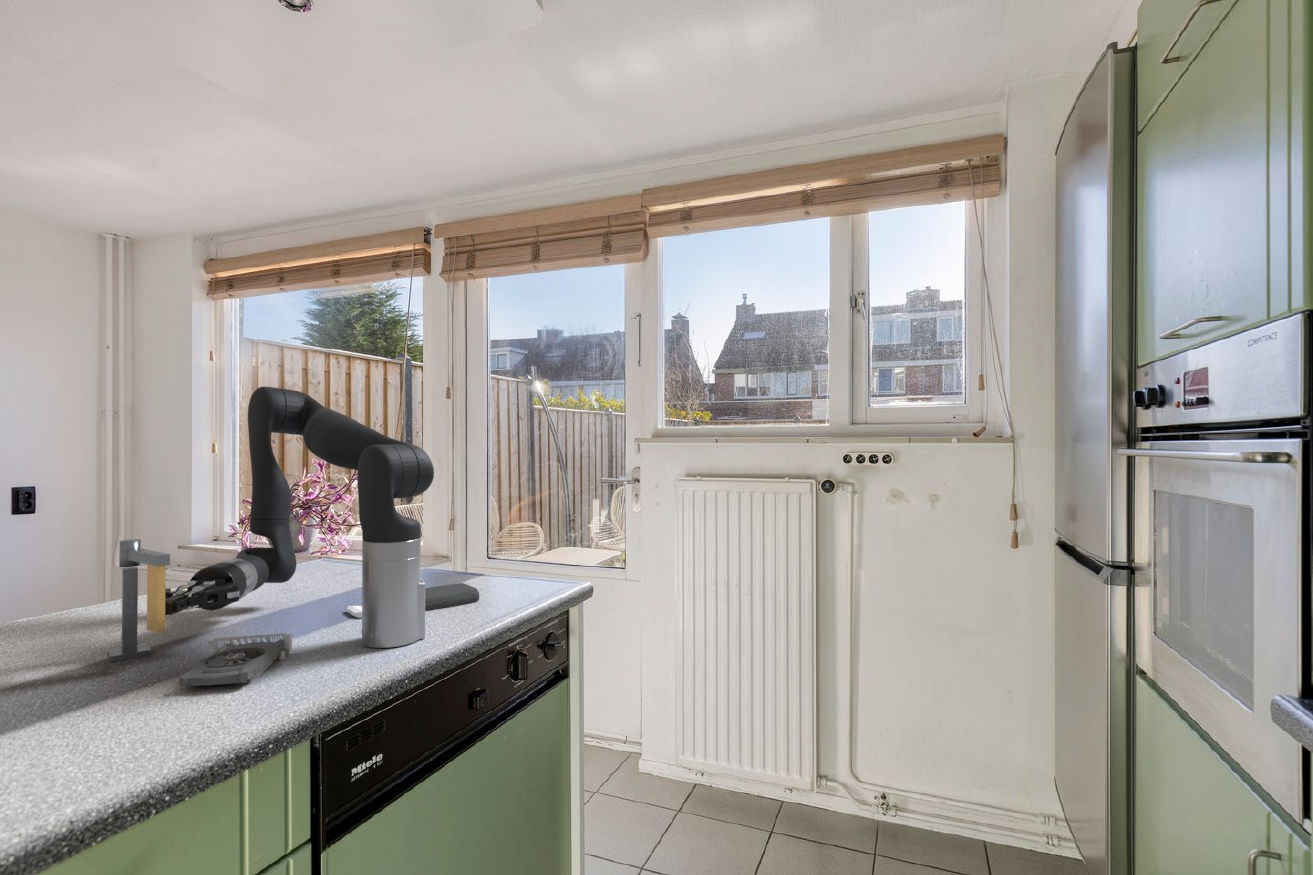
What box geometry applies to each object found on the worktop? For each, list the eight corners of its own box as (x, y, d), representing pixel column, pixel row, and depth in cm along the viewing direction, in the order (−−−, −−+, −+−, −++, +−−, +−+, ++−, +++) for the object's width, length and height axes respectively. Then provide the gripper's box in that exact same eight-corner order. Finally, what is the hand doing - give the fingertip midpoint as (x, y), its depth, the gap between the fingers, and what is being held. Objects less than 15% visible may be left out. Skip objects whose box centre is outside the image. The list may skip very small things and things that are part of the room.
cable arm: (173, 630, 98) (173, 545, 99) (153, 635, 96) (153, 548, 96) (135, 618, 105) (136, 538, 105) (116, 622, 103) (116, 540, 103)
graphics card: (211, 636, 103) (294, 630, 105) (212, 660, 103) (295, 653, 106) (151, 675, 87) (251, 667, 89) (152, 704, 87) (252, 694, 89)
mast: (147, 647, 107) (147, 564, 107) (151, 654, 103) (151, 568, 103) (107, 654, 104) (108, 568, 104) (110, 661, 100) (110, 572, 100)
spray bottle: (482, 603, 138) (359, 626, 122) (461, 594, 146) (343, 614, 130) (482, 589, 138) (359, 610, 122) (461, 581, 146) (343, 599, 130)
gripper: (184, 562, 115) (117, 584, 98) (265, 561, 117) (214, 582, 100) (183, 605, 115) (117, 634, 98) (264, 602, 117) (213, 631, 100)
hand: (166, 608), depth 99 cm, fingers closed
